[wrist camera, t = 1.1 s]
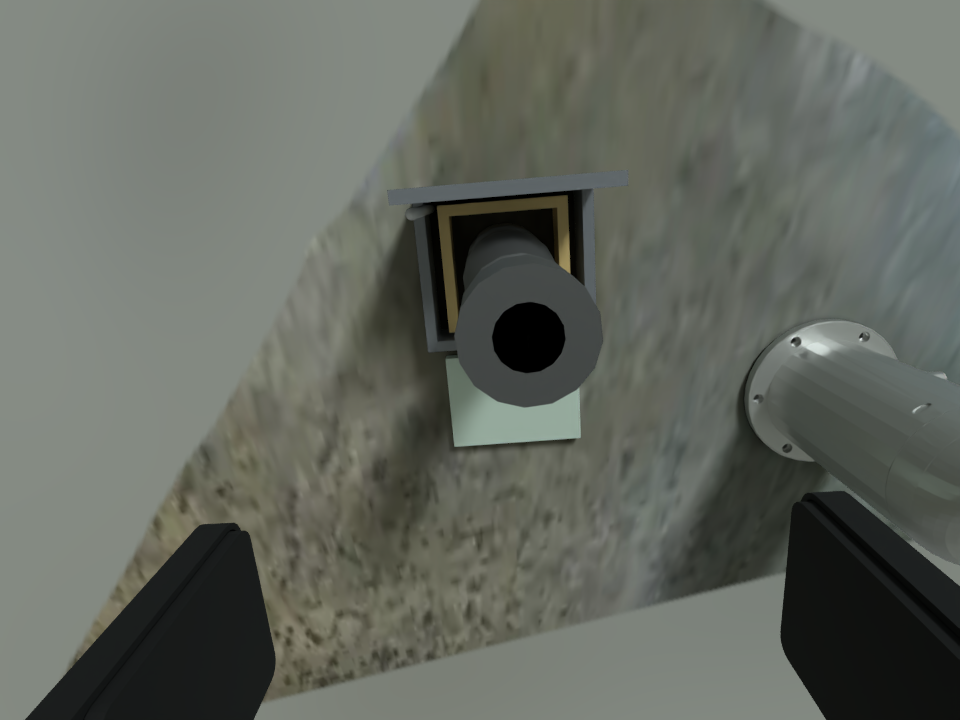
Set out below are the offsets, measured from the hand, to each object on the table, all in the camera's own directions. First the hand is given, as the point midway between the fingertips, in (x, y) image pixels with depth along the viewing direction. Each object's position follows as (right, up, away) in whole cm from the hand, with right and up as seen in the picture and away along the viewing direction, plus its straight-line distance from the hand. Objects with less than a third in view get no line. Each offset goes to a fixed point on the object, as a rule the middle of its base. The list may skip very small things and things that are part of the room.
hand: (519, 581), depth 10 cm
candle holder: (+1, +12, +36) cm, 38 cm away
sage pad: (+2, +1, +39) cm, 39 cm away
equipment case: (+1, +12, +36) cm, 38 cm away
